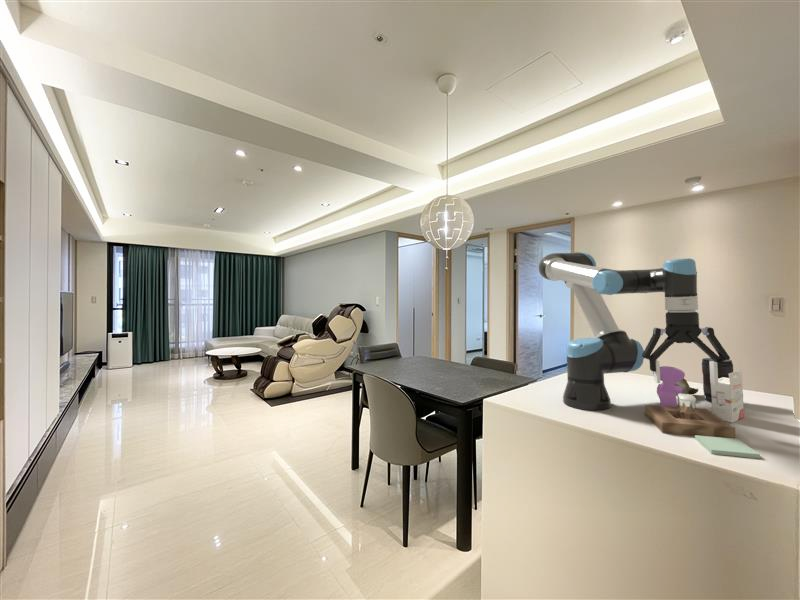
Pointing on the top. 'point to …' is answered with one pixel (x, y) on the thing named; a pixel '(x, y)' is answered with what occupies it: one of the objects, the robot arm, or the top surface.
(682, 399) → the milkshake
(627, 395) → the top surface
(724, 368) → the camera lens
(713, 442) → the mat
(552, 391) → the top surface
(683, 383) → the ceramic sculpture
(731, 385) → the ink cartridge box
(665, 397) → the toy chair
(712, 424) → the pocket block
